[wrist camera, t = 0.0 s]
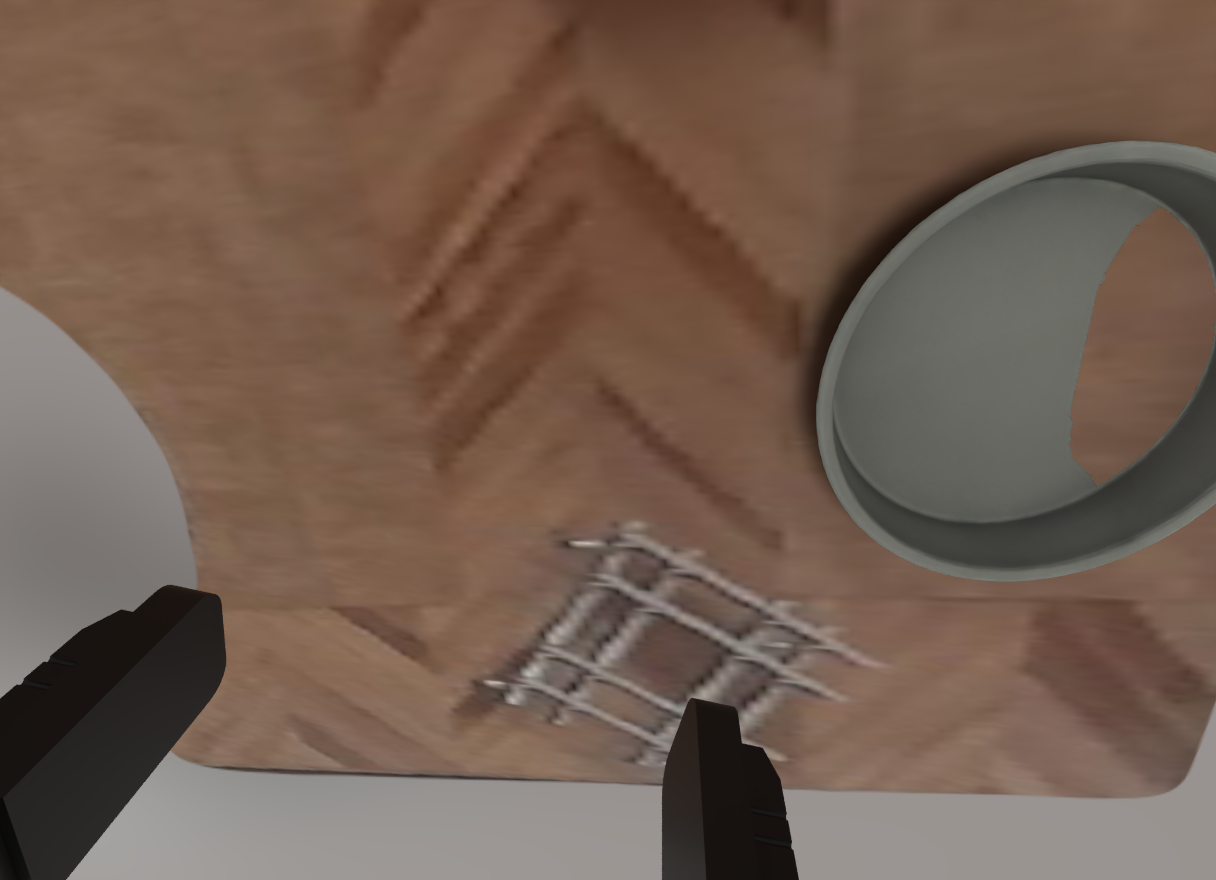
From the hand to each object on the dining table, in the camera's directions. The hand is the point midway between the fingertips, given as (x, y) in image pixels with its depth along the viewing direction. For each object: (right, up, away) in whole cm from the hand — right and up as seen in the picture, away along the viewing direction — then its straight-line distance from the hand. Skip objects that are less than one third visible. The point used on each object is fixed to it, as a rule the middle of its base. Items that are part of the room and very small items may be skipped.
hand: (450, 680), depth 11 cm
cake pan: (+27, +8, +27) cm, 39 cm away
